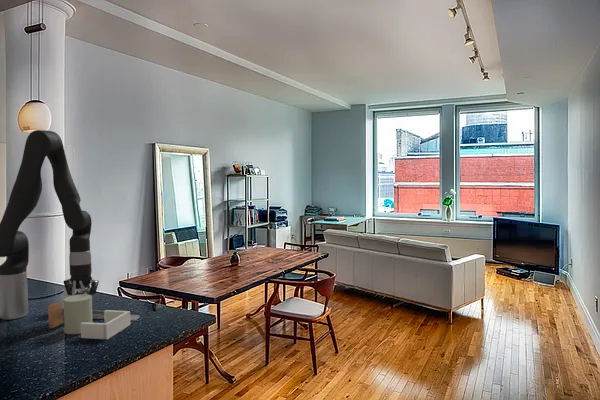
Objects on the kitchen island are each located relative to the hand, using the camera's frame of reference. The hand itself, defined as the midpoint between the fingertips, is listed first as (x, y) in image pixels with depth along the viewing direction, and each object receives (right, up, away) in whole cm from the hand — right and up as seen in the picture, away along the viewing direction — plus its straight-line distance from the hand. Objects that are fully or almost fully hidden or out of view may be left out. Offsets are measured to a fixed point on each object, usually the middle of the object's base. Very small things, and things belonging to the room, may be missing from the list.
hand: (82, 305), depth 166 cm
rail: (+10, -4, -1) cm, 11 cm away
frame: (+16, -5, -15) cm, 23 cm away
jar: (-8, -4, +10) cm, 13 cm away
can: (+6, -5, -14) cm, 16 cm away
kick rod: (+3, -4, -7) cm, 8 cm away
